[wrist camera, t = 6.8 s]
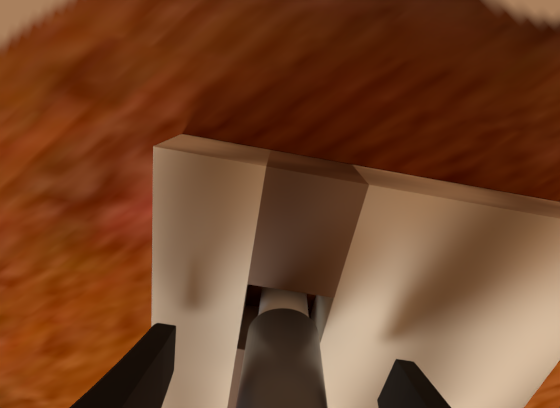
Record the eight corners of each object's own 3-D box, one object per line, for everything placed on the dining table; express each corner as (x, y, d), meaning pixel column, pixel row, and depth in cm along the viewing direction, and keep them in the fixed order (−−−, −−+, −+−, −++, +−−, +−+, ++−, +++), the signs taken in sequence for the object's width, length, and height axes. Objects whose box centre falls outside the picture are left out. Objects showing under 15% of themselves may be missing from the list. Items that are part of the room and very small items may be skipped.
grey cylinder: (317, 265, 13) (346, 443, 6) (306, 310, 14) (323, 504, 7) (259, 256, 13) (231, 429, 6) (252, 302, 14) (222, 493, 7)
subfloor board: (580, 205, 12) (653, 235, 9) (459, 401, 16) (488, 454, 14) (181, 133, 11) (152, 146, 9) (171, 359, 15) (150, 407, 13)
